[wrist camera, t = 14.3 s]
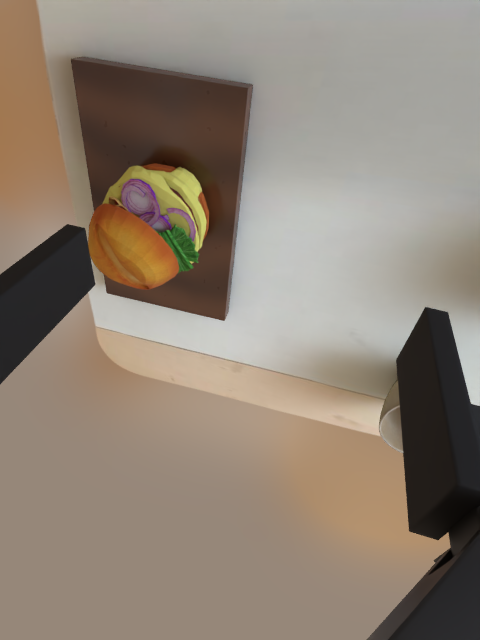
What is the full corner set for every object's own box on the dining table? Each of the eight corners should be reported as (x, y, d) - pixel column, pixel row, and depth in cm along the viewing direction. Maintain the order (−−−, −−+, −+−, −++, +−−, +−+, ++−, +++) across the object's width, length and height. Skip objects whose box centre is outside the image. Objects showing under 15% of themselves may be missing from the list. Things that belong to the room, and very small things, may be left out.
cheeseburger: (241, 208, 36) (195, 280, 30) (189, 259, 44) (144, 323, 38) (153, 127, 33) (83, 189, 27) (115, 198, 41) (54, 257, 35)
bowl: (468, 349, 42) (485, 400, 37) (466, 409, 47) (479, 460, 42) (372, 355, 46) (374, 402, 40) (380, 410, 51) (383, 457, 46)
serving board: (82, 56, 33) (70, 58, 31) (253, 84, 31) (248, 88, 30) (113, 285, 48) (106, 293, 47) (228, 311, 47) (224, 321, 45)
